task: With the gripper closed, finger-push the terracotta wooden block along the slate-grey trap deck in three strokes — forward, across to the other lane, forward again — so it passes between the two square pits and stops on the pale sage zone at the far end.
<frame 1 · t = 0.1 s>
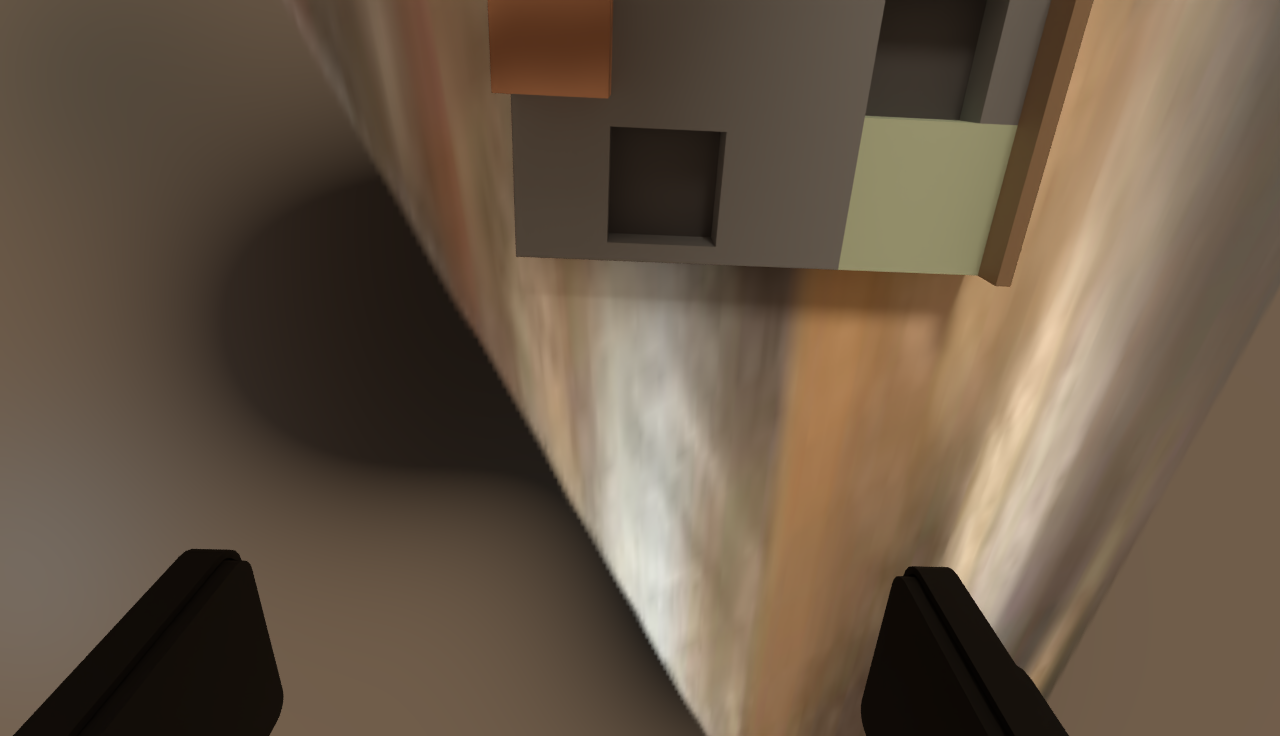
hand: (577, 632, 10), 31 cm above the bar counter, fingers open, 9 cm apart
deck: (757, 120, 36), on the bar counter
block: (560, 36, 32), point 2 cm above the bar counter, touching deck
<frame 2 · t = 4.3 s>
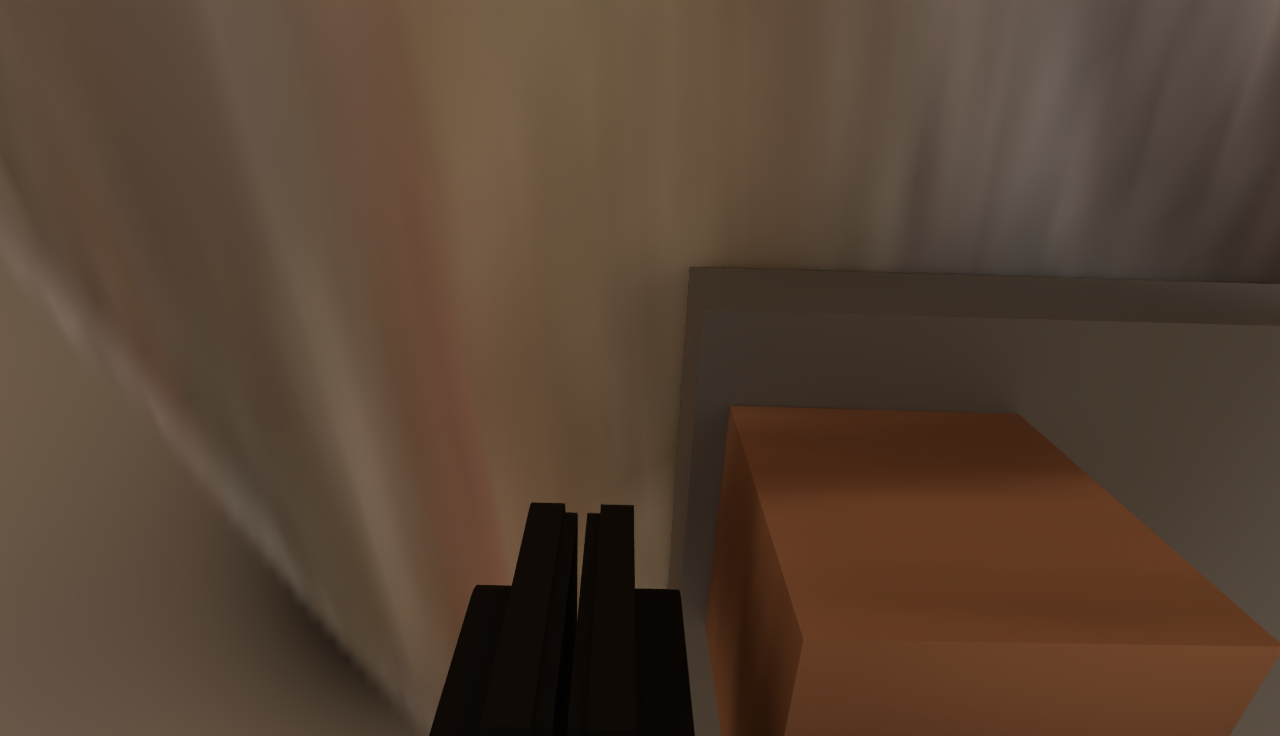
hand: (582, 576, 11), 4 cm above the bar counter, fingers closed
deck: (1195, 578, 16), on the bar counter
block: (849, 527, 12), point 3 cm above the bar counter, touching gripper
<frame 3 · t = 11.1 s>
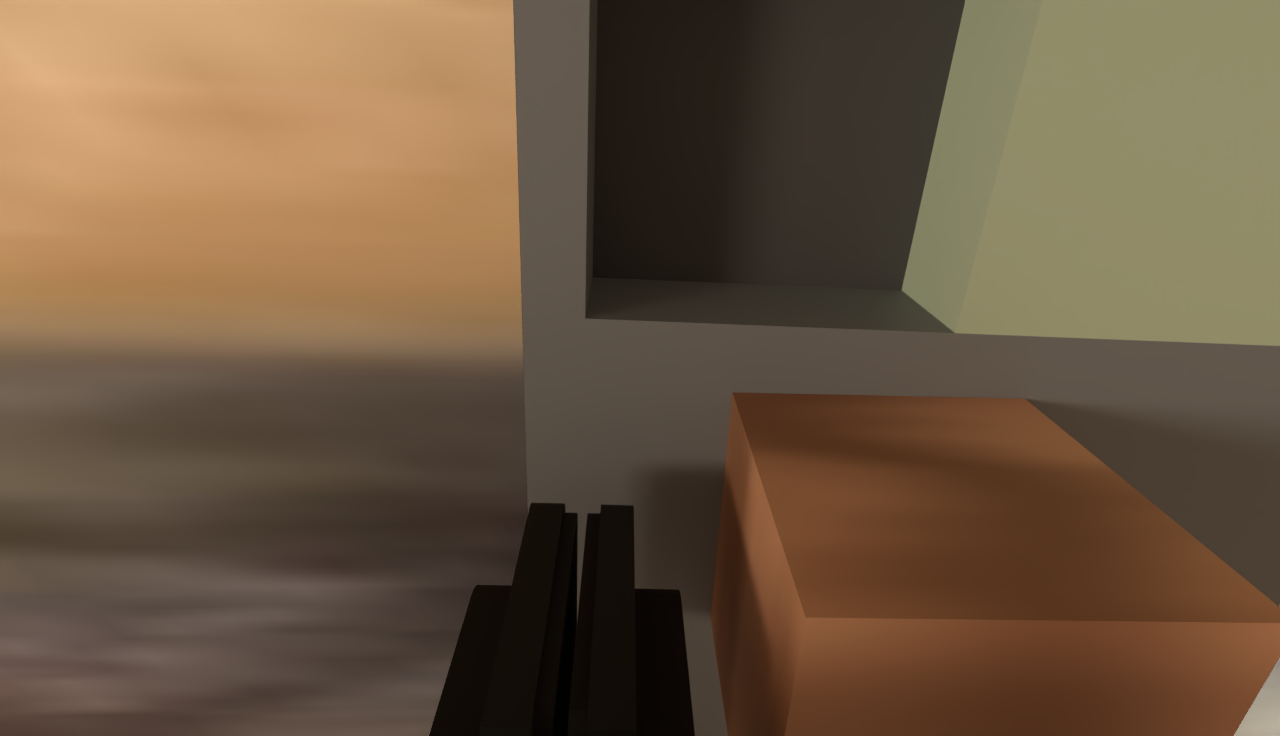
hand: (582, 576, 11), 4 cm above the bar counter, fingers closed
deck: (873, 498, 15), on the bar counter
block: (855, 516, 12), point 3 cm above the bar counter, touching gripper
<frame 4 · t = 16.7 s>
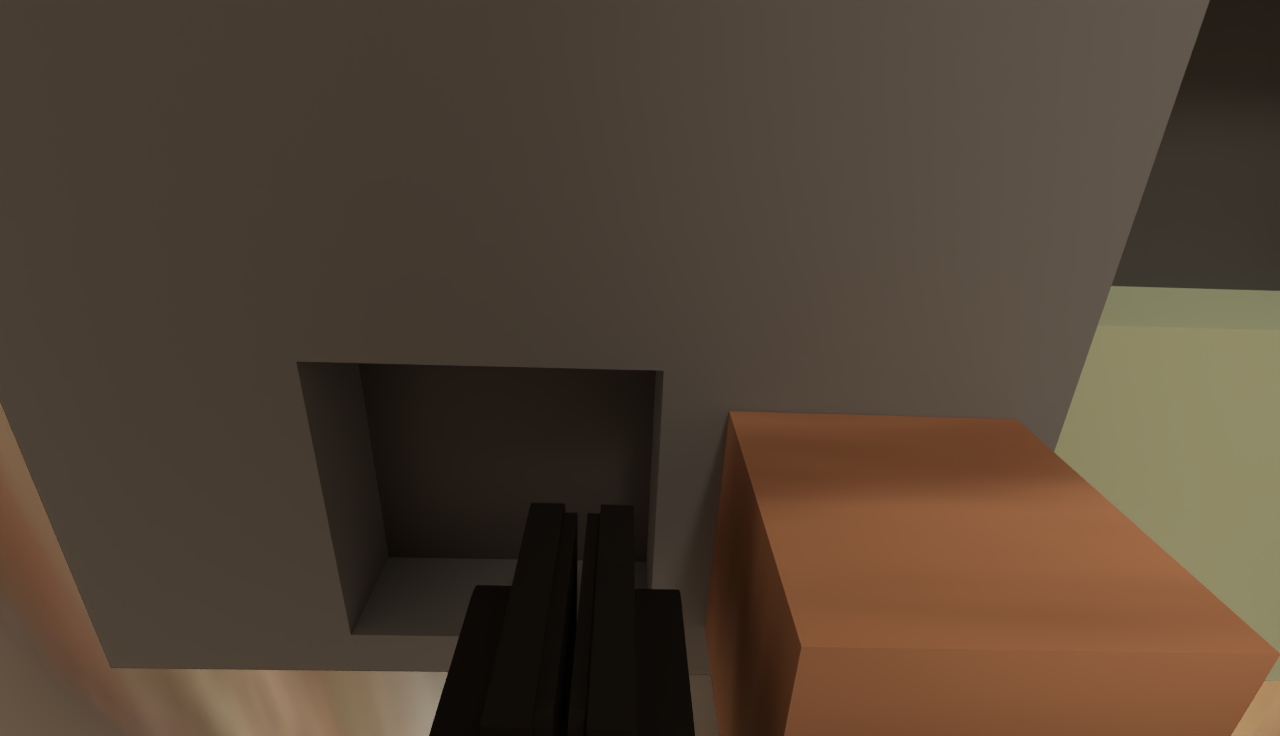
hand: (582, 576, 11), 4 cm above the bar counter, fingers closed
deck: (759, 297, 13), on the bar counter
block: (848, 532, 12), point 3 cm above the bar counter, touching gripper
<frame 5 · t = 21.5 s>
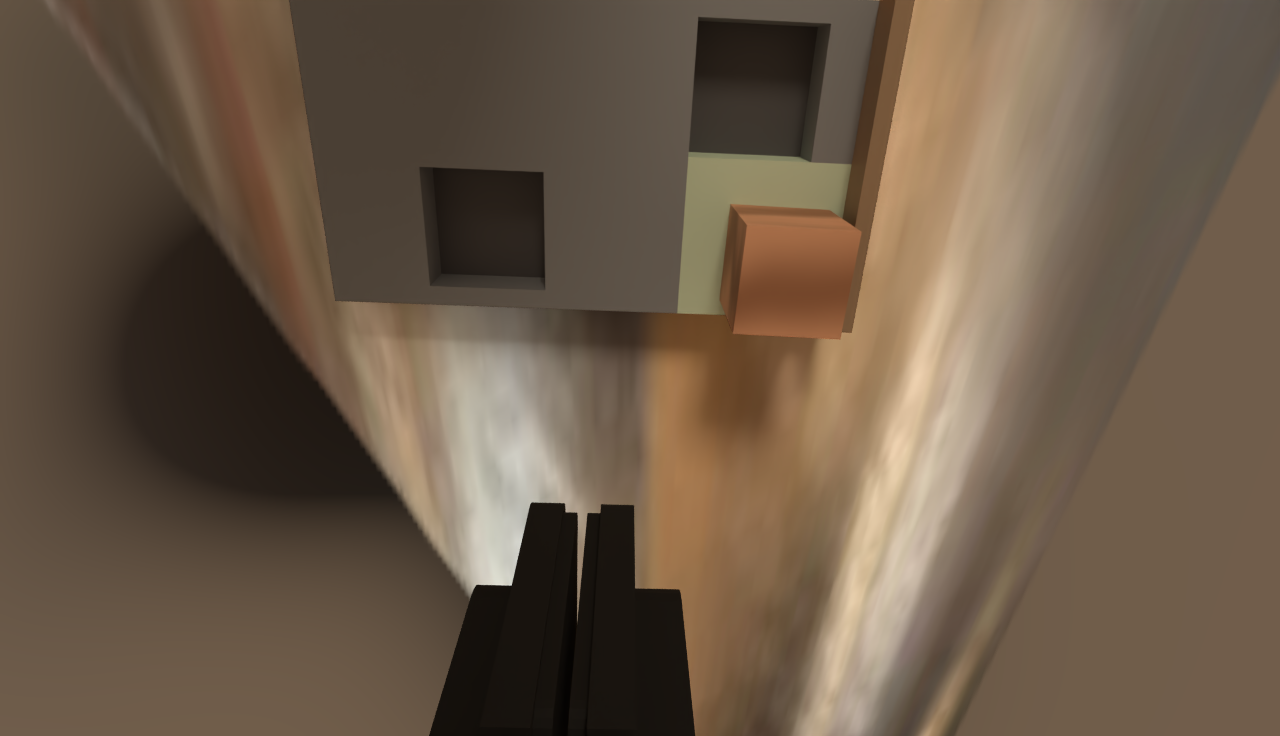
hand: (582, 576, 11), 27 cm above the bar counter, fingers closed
deck: (587, 157, 34), on the bar counter
block: (772, 255, 34), point 2 cm above the bar counter, touching deck
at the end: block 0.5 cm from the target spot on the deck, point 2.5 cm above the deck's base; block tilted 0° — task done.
